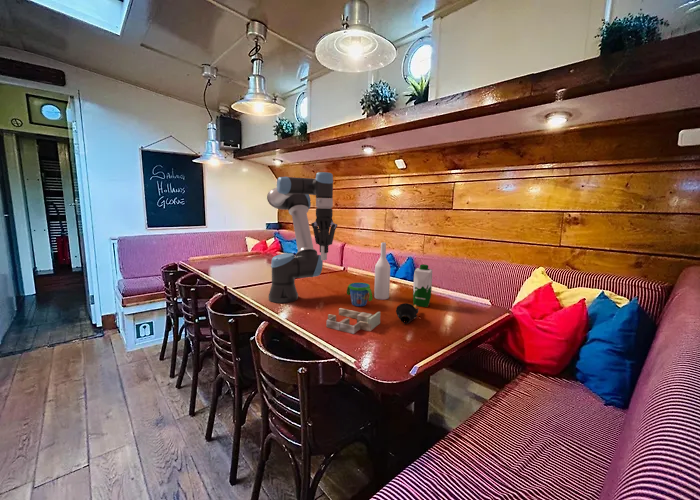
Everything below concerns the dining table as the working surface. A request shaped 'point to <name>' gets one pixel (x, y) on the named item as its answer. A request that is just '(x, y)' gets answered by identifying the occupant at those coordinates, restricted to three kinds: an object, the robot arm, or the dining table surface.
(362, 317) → the cream block
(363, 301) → the snack cup
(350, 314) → the box
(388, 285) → the bottle
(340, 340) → the dining table surface
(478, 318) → the dining table surface
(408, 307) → the fried shrimp in bowl
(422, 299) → the milk carton
